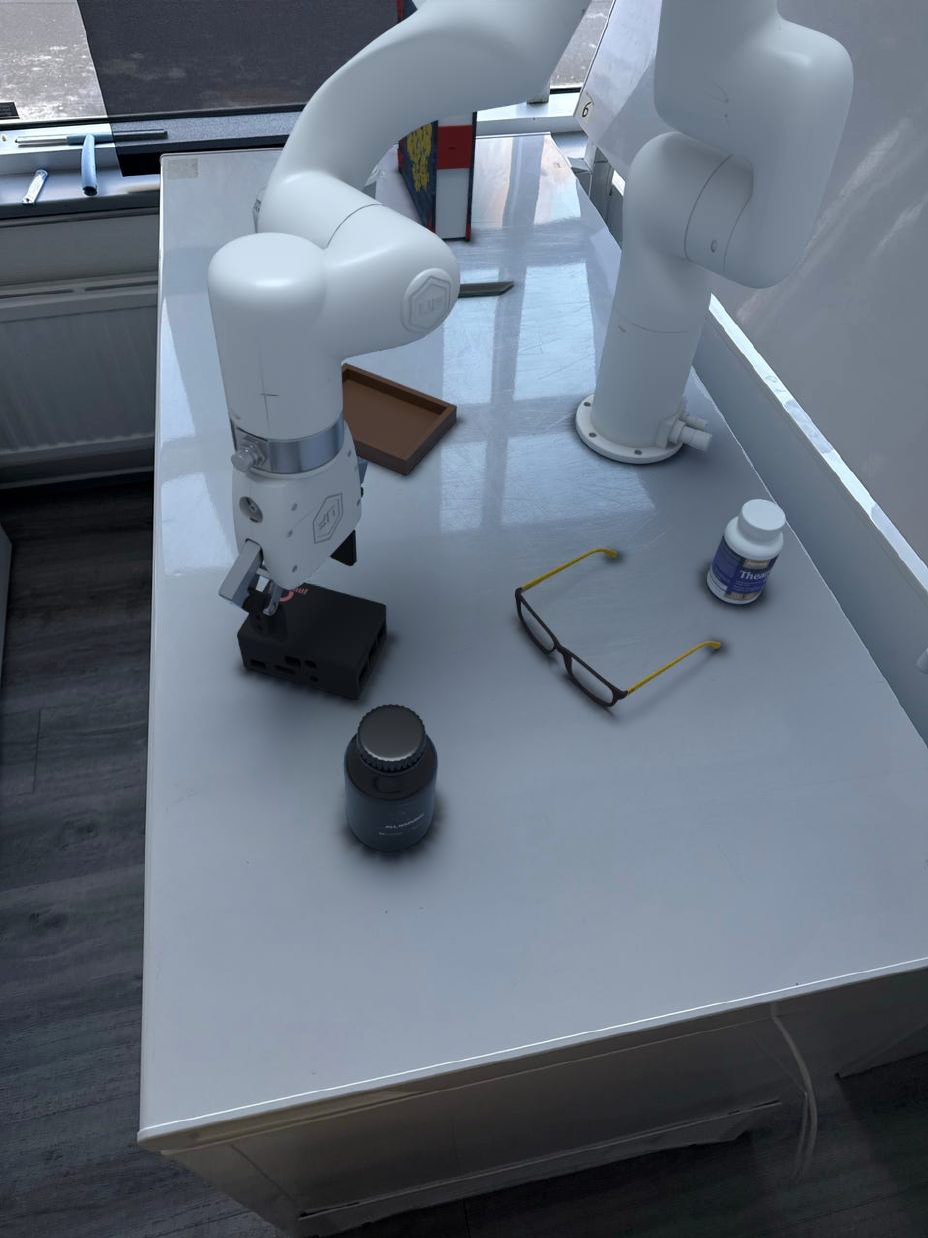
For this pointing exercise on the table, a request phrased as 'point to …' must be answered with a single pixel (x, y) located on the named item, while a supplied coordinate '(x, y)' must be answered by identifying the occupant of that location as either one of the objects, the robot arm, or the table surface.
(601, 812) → the table surface
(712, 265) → the robot arm
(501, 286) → the knife
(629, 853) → the table surface
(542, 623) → the eyeglasses
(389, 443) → the docking tray
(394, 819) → the supplement bottle
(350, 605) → the electronic device
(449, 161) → the book
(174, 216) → the table surface
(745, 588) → the pill bottle
